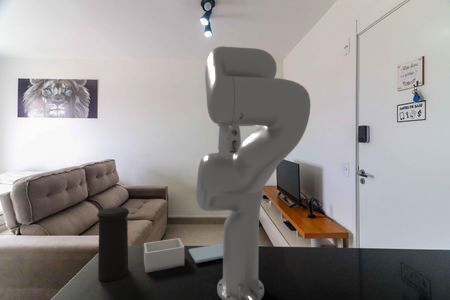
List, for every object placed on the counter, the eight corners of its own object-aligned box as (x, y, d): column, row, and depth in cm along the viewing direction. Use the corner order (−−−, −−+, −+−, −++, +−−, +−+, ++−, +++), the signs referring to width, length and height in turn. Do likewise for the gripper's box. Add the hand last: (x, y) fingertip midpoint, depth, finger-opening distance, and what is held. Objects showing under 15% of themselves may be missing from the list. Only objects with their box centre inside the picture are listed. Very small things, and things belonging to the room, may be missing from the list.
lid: (240, 257, 83) (240, 234, 83) (195, 266, 77) (195, 241, 76) (229, 246, 91) (229, 226, 91) (188, 254, 85) (188, 232, 85)
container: (134, 267, 76) (134, 205, 75) (119, 283, 67) (118, 213, 66) (109, 265, 76) (108, 204, 76) (90, 281, 68) (89, 212, 67)
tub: (184, 265, 77) (184, 247, 77) (145, 272, 72) (145, 253, 72) (179, 254, 84) (179, 238, 84) (143, 260, 80) (143, 243, 80)
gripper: (249, 120, 76) (249, 172, 77) (228, 124, 92) (228, 167, 93) (228, 119, 73) (228, 173, 74) (210, 123, 89) (210, 168, 90)
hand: (228, 170), depth 83 cm, fingers open, 9 cm apart
